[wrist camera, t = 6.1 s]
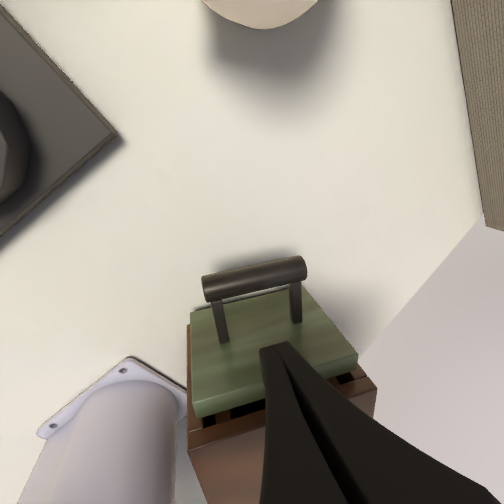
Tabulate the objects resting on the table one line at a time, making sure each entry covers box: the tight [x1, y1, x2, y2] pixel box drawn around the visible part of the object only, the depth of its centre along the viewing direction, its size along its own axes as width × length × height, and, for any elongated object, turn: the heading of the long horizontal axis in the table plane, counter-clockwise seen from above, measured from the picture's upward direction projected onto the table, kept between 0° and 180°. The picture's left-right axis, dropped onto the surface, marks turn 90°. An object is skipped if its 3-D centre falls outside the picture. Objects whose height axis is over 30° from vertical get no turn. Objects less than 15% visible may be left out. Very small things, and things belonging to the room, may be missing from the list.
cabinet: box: [187, 325, 377, 504], centre depth 18 cm, size 11×10×9 cm
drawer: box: [190, 256, 358, 424], centre depth 16 cm, size 14×8×7 cm, turn 7°
